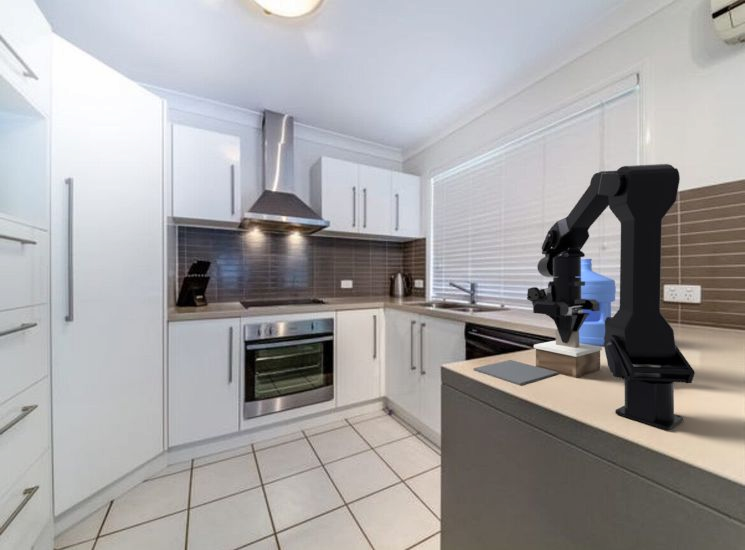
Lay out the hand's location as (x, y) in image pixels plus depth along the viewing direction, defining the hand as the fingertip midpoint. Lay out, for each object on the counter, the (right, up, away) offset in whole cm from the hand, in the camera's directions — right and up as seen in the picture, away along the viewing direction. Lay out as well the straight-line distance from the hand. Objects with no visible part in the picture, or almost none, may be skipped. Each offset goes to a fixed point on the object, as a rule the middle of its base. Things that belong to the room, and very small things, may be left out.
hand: (567, 342), depth 73 cm
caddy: (0, -6, 0) cm, 6 cm away
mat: (-14, -6, -2) cm, 15 cm away
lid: (0, -3, 0) cm, 3 cm away
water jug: (+26, -7, +30) cm, 41 cm away
